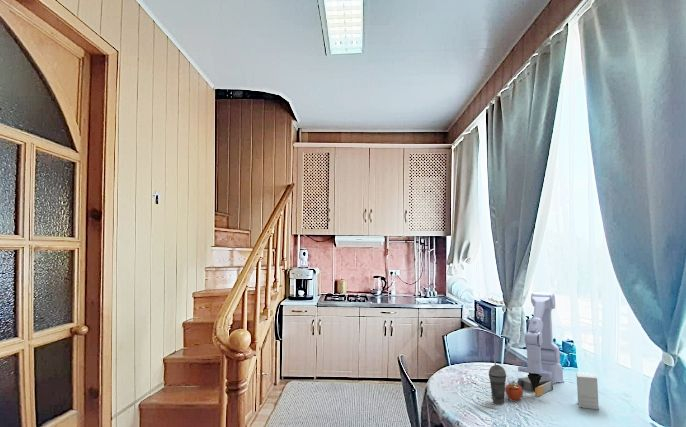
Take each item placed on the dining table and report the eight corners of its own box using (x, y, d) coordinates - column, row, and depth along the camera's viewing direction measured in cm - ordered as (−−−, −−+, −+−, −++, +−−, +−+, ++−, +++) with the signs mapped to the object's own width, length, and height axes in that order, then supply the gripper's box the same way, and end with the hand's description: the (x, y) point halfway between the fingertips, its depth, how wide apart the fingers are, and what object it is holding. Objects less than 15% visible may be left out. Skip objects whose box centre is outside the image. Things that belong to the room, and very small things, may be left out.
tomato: (505, 401, 194) (504, 382, 194) (505, 395, 201) (504, 377, 201) (523, 403, 191) (523, 383, 192) (523, 397, 198) (522, 378, 199)
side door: (551, 388, 208) (550, 381, 208) (553, 389, 207) (553, 381, 207) (535, 396, 198) (534, 388, 199) (537, 396, 198) (537, 388, 198)
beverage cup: (505, 406, 187) (503, 357, 188) (487, 403, 191) (485, 355, 192) (509, 401, 193) (507, 353, 195) (491, 398, 197) (490, 351, 198)
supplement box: (597, 404, 189) (595, 373, 190) (599, 410, 182) (597, 378, 183) (577, 401, 192) (576, 371, 193) (578, 407, 185) (576, 376, 186)
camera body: (539, 384, 216) (538, 374, 216) (552, 389, 208) (551, 379, 209) (516, 387, 212) (516, 377, 212) (528, 392, 204) (528, 382, 205)
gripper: (514, 358, 204) (515, 389, 203) (546, 364, 193) (547, 397, 192) (521, 355, 209) (523, 385, 208) (553, 361, 198) (555, 393, 197)
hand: (535, 390), depth 200 cm, fingers closed
